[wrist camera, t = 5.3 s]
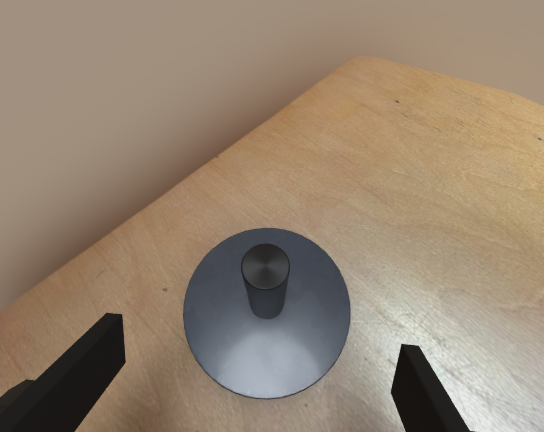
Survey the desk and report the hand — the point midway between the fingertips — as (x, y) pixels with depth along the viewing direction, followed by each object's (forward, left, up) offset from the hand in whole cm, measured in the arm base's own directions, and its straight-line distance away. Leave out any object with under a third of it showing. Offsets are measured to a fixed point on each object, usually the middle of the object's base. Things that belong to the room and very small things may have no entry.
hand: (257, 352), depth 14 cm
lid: (0, +5, -10) cm, 11 cm away
